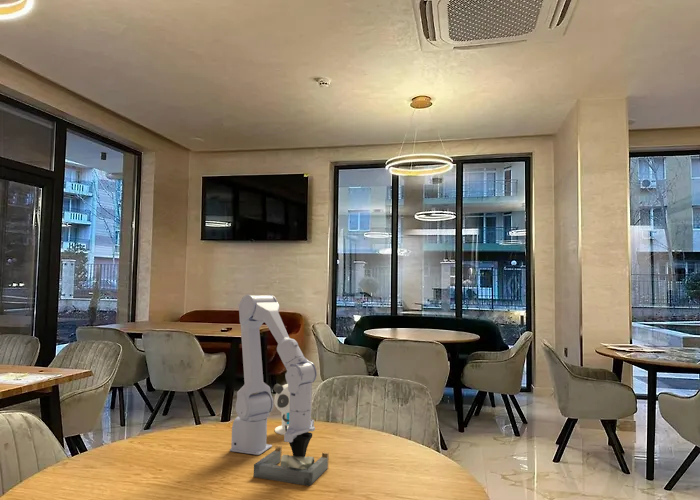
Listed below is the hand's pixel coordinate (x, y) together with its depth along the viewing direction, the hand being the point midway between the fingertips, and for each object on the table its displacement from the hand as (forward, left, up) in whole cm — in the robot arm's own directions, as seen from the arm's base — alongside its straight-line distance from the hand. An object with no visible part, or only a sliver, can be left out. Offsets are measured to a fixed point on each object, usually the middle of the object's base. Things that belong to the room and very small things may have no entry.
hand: (299, 462), depth 126 cm
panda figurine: (-15, +28, -1) cm, 32 cm away
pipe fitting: (+1, -4, -1) cm, 5 cm away
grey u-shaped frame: (0, -4, -1) cm, 4 cm away
